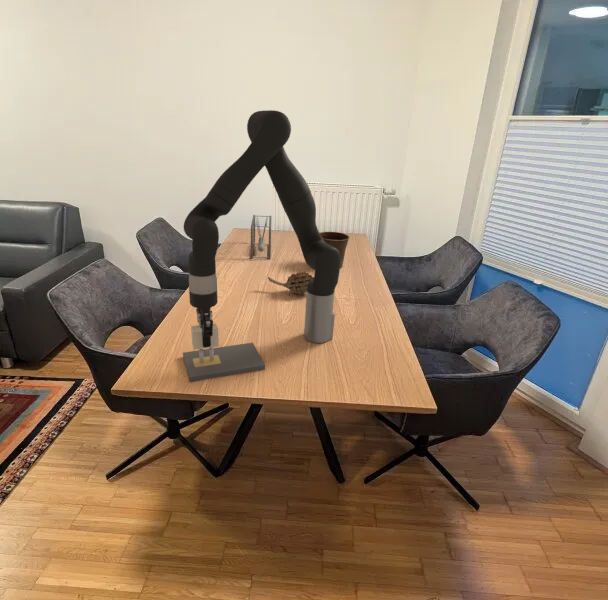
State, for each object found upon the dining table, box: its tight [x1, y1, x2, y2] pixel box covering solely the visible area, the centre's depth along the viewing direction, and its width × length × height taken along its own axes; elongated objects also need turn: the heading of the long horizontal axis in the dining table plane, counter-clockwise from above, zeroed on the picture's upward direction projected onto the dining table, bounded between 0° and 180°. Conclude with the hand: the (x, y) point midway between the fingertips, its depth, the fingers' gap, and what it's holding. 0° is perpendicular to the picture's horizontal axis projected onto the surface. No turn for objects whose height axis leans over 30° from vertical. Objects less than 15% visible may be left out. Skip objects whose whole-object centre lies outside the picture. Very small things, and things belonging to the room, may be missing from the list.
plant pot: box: [319, 231, 350, 269], centre depth 211 cm, size 16×16×16 cm
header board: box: [182, 342, 266, 383], centre depth 123 cm, size 22×14×6 cm, turn 112°
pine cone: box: [267, 270, 314, 295], centre depth 176 cm, size 22×10×10 cm, turn 84°
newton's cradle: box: [250, 214, 272, 260], centre depth 228 cm, size 30×10×18 cm, turn 4°
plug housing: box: [190, 323, 220, 351], centre depth 119 cm, size 7×4×6 cm, turn 112°
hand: (205, 342), depth 119 cm, fingers closed on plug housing, 4 cm apart
